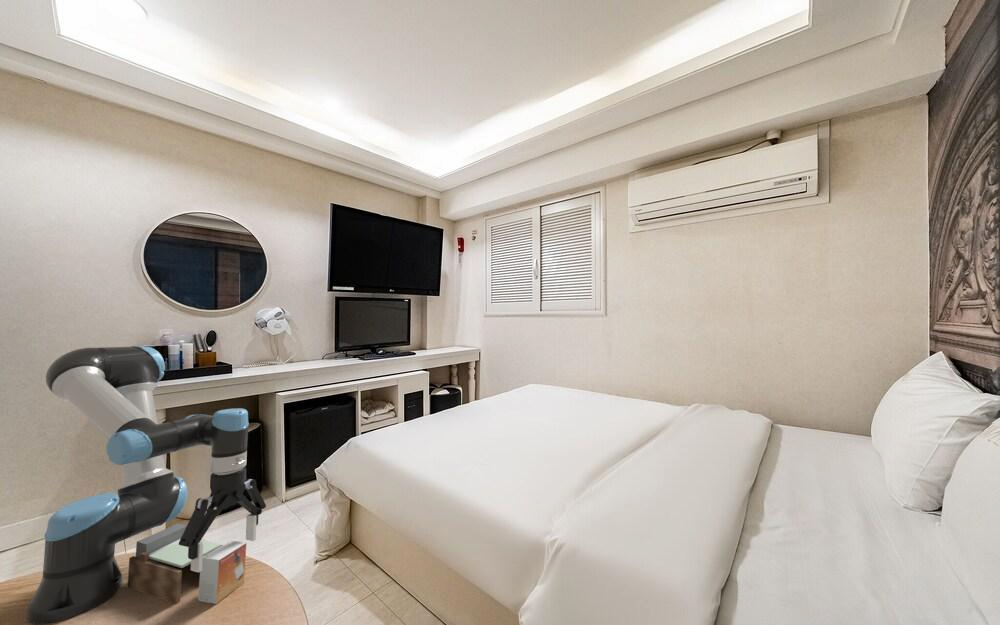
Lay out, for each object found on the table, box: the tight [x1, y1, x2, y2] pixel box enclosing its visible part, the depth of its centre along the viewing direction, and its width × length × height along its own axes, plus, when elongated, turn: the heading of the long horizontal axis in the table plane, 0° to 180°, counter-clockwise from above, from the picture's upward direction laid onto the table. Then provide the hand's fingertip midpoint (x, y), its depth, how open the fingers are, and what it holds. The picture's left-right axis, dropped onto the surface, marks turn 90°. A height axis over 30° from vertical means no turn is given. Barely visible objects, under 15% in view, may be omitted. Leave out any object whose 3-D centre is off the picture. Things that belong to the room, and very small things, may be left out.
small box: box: [197, 540, 247, 605], centre depth 92 cm, size 8×6×10 cm
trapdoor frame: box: [126, 544, 223, 604], centre depth 96 cm, size 19×12×9 cm, turn 73°
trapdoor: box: [135, 523, 222, 569], centre depth 96 cm, size 18×9×6 cm, turn 73°
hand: (225, 554), depth 92 cm, fingers open, 13 cm apart
